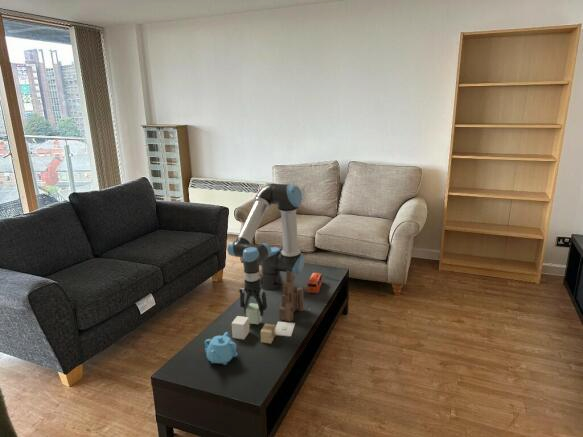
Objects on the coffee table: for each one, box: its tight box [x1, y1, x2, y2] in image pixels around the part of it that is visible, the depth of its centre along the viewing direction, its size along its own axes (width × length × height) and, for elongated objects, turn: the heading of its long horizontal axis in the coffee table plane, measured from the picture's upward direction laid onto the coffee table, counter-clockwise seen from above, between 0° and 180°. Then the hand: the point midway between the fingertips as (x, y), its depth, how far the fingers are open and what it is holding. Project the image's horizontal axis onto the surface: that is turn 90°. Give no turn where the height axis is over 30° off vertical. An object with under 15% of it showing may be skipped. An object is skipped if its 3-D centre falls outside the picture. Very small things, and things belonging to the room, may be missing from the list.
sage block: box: [245, 302, 260, 325], centre depth 204 cm, size 6×6×8 cm
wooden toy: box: [278, 270, 304, 323], centre depth 212 cm, size 16×7×25 cm, turn 150°
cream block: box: [231, 315, 250, 340], centre depth 196 cm, size 7×6×8 cm
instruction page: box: [275, 321, 296, 337], centre depth 201 cm, size 12×9×1 cm
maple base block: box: [260, 322, 277, 344], centre depth 192 cm, size 7×5×6 cm
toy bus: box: [306, 272, 323, 294], centre depth 245 cm, size 7×18×7 cm, turn 166°
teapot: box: [204, 331, 239, 366], centre depth 176 cm, size 13×14×11 cm
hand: (254, 320), depth 205 cm, fingers closed on sage block, 6 cm apart
